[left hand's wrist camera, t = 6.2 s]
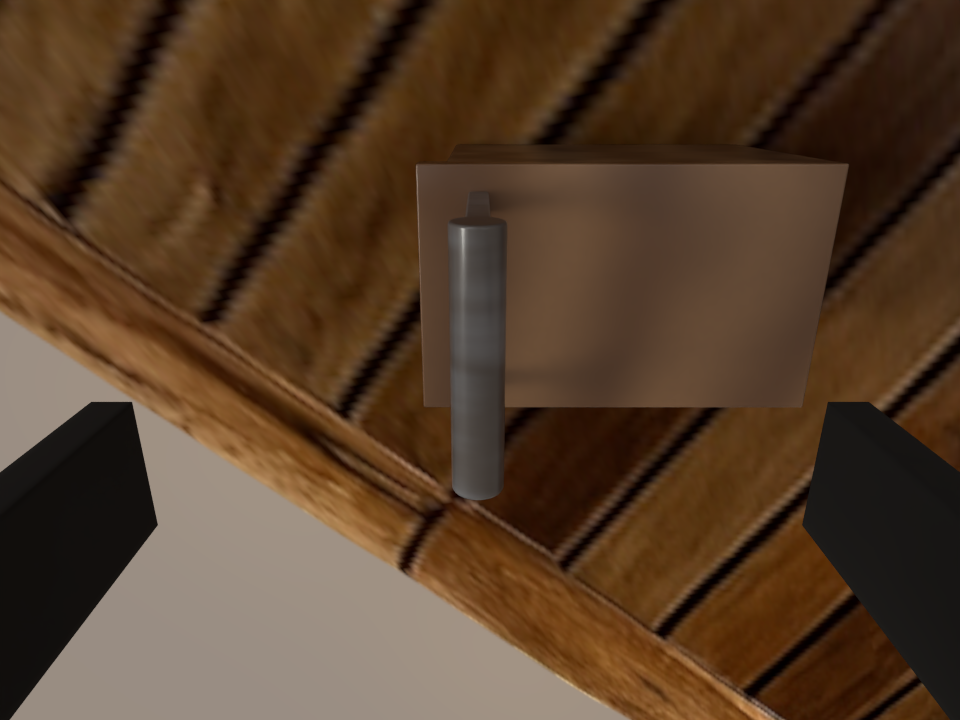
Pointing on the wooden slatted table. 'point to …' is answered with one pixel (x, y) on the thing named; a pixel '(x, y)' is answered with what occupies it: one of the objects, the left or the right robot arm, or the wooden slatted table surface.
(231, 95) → the wooden slatted table surface
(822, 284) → the lid
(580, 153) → the chest
